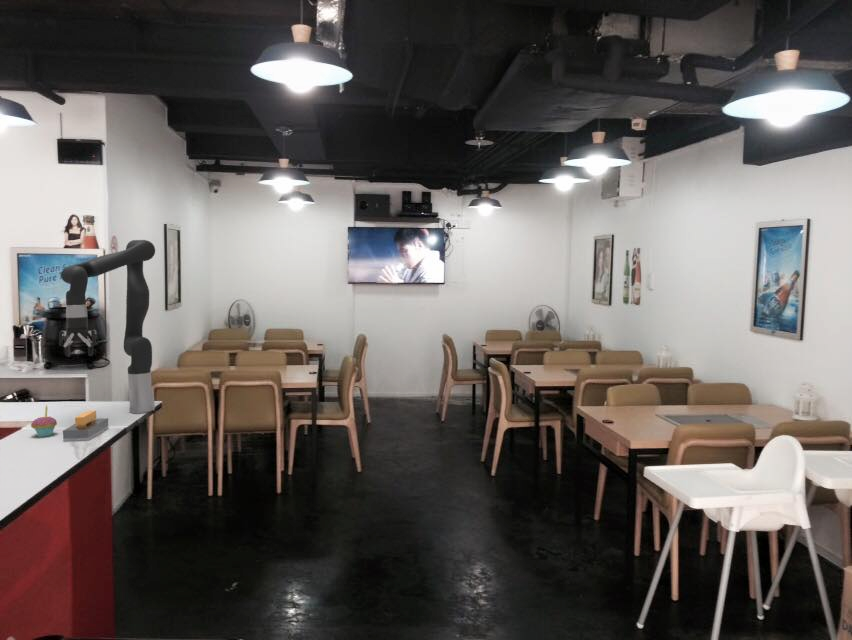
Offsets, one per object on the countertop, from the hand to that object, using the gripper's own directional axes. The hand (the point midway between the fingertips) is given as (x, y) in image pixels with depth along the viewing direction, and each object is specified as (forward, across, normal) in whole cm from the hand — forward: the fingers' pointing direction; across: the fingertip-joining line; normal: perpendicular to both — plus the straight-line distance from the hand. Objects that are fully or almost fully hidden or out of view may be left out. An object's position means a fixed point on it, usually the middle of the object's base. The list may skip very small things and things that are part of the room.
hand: (79, 356), depth 267 cm
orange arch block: (+27, -9, +17) cm, 33 cm away
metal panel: (+28, -8, +17) cm, 34 cm away
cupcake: (+28, +7, +16) cm, 33 cm away
